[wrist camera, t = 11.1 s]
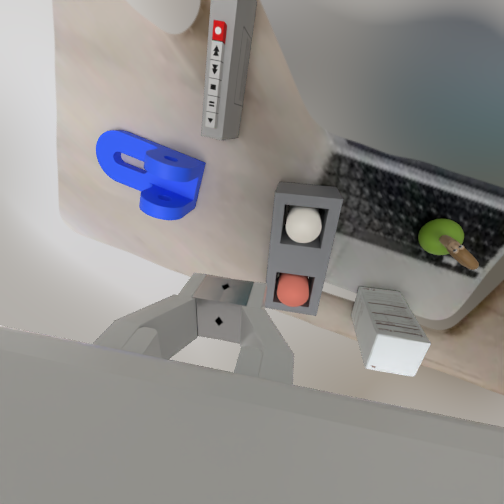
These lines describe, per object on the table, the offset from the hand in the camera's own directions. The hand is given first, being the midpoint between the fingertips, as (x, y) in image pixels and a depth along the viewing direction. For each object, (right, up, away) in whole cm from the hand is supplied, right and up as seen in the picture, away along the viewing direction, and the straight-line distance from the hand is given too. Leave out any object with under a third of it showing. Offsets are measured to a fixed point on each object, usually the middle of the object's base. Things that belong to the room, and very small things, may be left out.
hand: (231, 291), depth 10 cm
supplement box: (+24, -8, +37) cm, 45 cm away
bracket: (-16, +17, +33) cm, 41 cm away
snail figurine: (+29, +5, +29) cm, 42 cm away
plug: (+9, +8, +31) cm, 33 cm away
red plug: (+8, -2, +35) cm, 36 cm away
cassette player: (-1, +27, +25) cm, 36 cm away
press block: (+9, +4, +34) cm, 35 cm away
